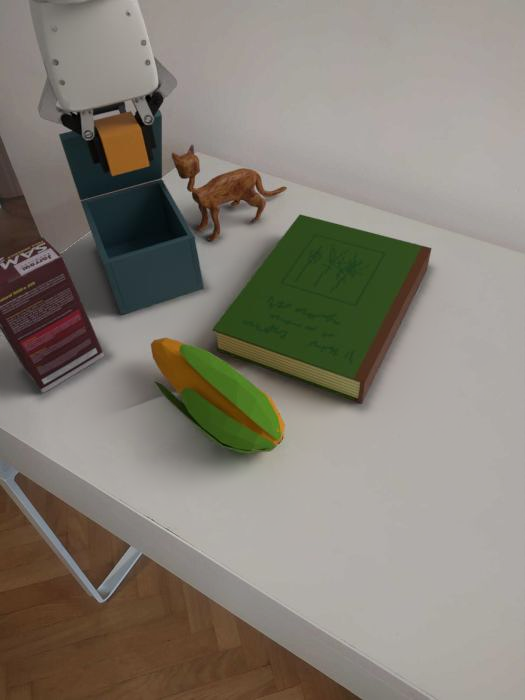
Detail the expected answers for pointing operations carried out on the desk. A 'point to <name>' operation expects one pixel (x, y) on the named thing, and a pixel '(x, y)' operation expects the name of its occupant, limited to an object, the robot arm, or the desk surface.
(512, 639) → the desk surface
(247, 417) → the corn
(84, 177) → the lid
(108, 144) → the cheese block
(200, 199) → the cat figurine
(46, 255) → the supplement box
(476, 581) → the desk surface
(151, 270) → the box
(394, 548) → the desk surface
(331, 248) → the book
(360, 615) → the desk surface
